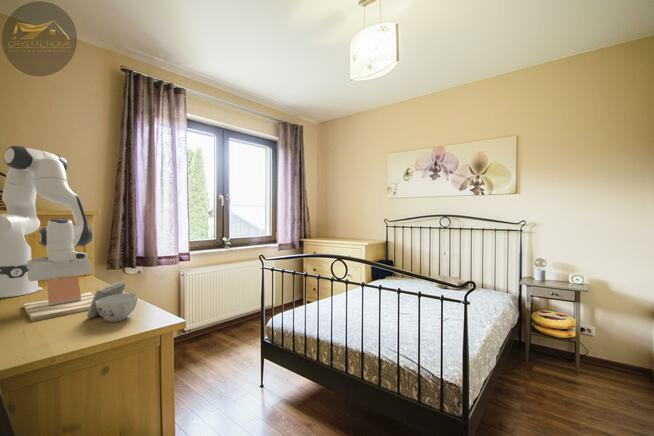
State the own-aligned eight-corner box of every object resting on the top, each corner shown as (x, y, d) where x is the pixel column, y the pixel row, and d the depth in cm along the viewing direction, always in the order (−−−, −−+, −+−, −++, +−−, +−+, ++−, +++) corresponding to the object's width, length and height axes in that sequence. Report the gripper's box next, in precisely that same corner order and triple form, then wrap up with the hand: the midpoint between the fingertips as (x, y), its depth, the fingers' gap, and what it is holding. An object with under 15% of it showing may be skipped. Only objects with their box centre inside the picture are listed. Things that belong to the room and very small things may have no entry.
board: (23, 306, 119) (23, 303, 119) (90, 295, 137) (90, 292, 137) (32, 321, 103) (32, 317, 103) (107, 306, 120) (106, 302, 120)
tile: (46, 281, 119) (46, 280, 119) (77, 277, 127) (78, 276, 126) (48, 306, 116) (49, 305, 115) (80, 300, 124) (81, 299, 123)
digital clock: (114, 305, 122) (114, 280, 122) (134, 306, 121) (134, 280, 121) (78, 319, 106) (78, 290, 106) (101, 320, 105) (100, 291, 105)
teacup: (91, 320, 105) (90, 298, 105) (130, 311, 115) (130, 291, 115) (104, 330, 96) (104, 306, 96) (145, 319, 106) (145, 297, 105)
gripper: (27, 259, 114) (28, 294, 115) (92, 254, 130) (92, 284, 131) (25, 258, 118) (26, 291, 118) (88, 252, 134) (89, 282, 134)
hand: (61, 287), depth 125 cm, fingers closed
